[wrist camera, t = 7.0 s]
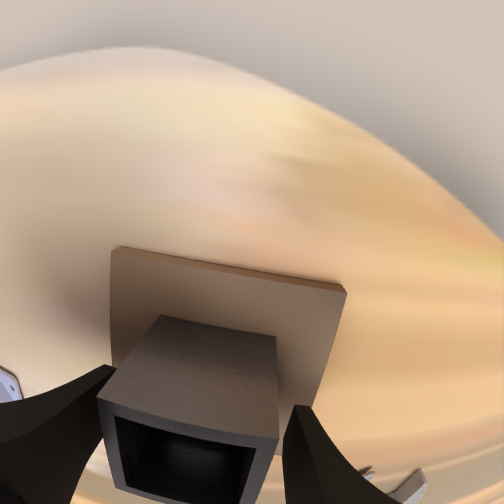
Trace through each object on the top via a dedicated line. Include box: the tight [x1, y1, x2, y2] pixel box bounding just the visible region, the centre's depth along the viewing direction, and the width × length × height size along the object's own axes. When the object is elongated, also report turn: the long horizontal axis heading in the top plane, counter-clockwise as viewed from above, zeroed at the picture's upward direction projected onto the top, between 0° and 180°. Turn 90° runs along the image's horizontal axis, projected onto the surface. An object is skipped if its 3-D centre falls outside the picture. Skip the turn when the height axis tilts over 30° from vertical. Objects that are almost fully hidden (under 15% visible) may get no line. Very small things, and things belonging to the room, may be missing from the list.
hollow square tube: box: [96, 314, 280, 504], centre depth 10 cm, size 5×5×6 cm
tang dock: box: [110, 247, 347, 455], centre depth 13 cm, size 10×10×4 cm
